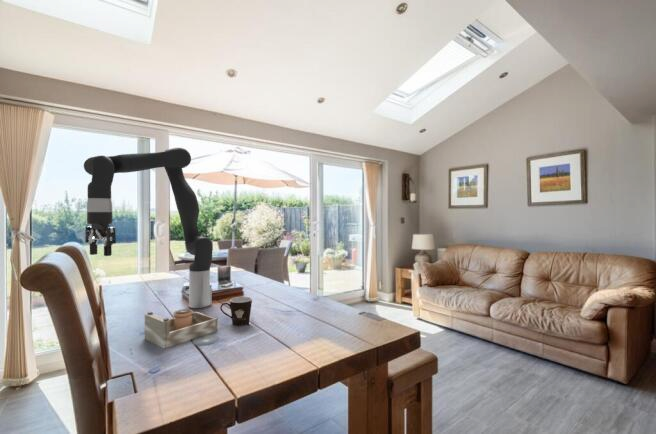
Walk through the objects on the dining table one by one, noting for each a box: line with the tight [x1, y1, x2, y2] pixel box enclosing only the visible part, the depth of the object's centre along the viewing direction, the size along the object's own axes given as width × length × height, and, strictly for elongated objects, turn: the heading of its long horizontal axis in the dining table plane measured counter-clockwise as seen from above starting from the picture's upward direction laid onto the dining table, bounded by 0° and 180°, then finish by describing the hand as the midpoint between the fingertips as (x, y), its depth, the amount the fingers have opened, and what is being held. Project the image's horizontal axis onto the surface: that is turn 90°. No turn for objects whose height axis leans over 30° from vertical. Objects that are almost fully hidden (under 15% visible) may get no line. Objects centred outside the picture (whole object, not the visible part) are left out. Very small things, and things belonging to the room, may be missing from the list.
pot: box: [173, 308, 194, 330], centre depth 113 cm, size 6×6×8 cm
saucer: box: [192, 334, 220, 346], centre depth 107 cm, size 8×8×1 cm
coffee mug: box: [220, 296, 253, 327], centre depth 125 cm, size 12×9×10 cm
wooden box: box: [144, 311, 219, 349], centre depth 112 cm, size 20×14×10 cm
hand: (100, 255), depth 114 cm, fingers open, 8 cm apart
